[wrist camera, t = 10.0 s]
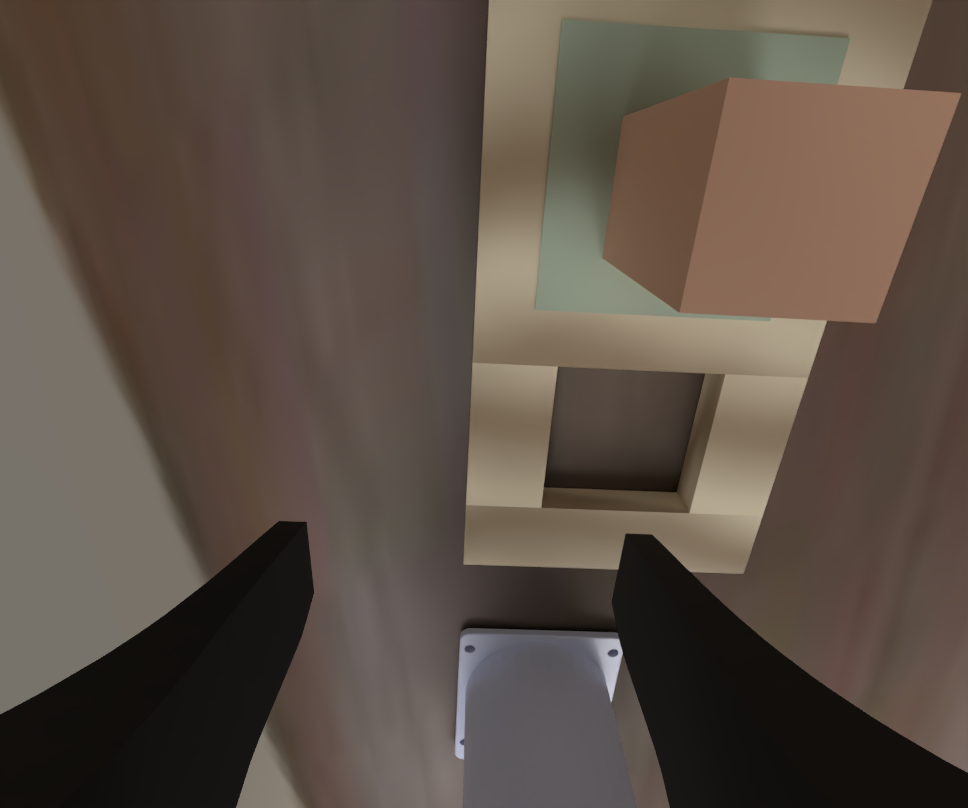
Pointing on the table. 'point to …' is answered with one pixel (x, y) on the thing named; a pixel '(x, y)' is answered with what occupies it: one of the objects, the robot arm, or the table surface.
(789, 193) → the terracotta block
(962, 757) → the table surface
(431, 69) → the table surface
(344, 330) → the table surface
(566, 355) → the board
